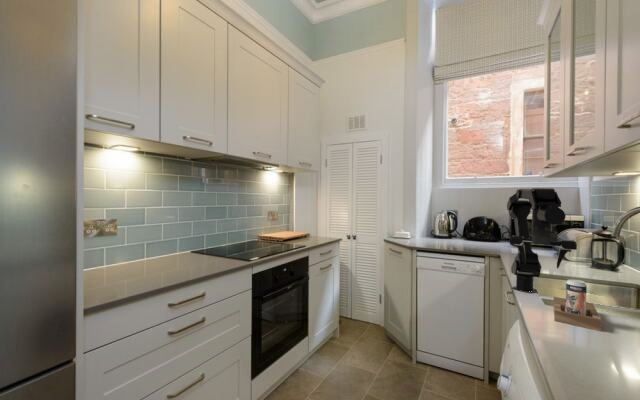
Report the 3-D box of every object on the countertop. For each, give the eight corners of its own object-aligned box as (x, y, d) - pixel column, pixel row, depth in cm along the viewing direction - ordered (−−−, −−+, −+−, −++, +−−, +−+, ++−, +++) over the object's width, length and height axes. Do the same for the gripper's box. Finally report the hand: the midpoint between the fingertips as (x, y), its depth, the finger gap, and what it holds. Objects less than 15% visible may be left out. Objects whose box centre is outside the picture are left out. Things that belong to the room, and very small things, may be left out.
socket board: (553, 305, 99) (553, 296, 99) (592, 312, 93) (593, 303, 93) (554, 320, 85) (554, 310, 85) (601, 331, 79) (601, 320, 79)
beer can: (561, 318, 87) (562, 279, 87) (569, 316, 89) (570, 278, 89) (581, 324, 83) (582, 283, 83) (589, 322, 85) (590, 282, 85)
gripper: (508, 221, 102) (507, 265, 102) (578, 225, 90) (577, 274, 90) (511, 220, 111) (510, 260, 110) (575, 224, 99) (574, 269, 99)
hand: (540, 266), depth 102 cm, fingers open, 9 cm apart
